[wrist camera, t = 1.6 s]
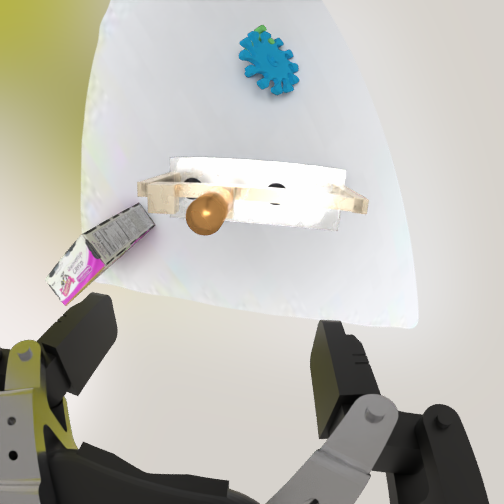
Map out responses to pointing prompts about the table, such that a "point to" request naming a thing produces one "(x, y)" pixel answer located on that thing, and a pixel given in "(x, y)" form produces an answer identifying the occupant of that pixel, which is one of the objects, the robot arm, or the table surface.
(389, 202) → the table surface
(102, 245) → the candy bar box
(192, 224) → the cylinder
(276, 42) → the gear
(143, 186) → the divider frame
